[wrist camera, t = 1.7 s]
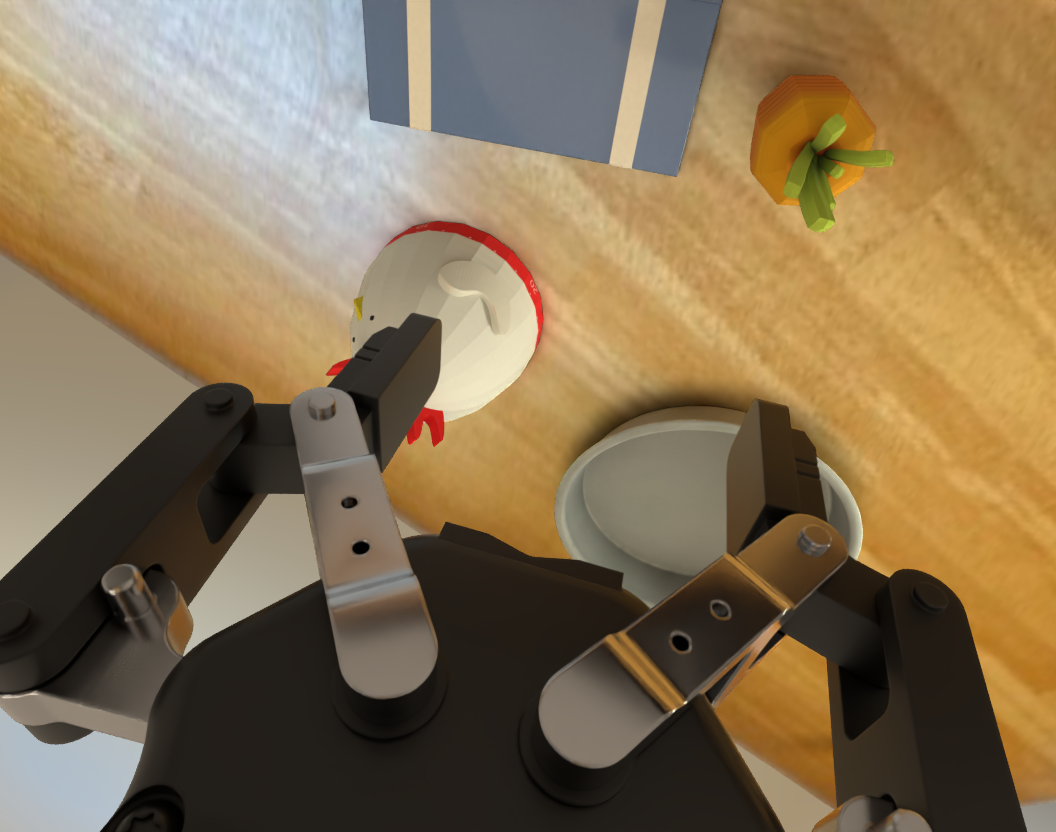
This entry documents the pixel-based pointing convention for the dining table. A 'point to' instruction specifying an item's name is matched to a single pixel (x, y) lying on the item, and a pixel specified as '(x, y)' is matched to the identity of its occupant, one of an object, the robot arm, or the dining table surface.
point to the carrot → (812, 145)
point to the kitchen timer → (454, 313)
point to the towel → (544, 73)
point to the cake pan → (666, 499)
